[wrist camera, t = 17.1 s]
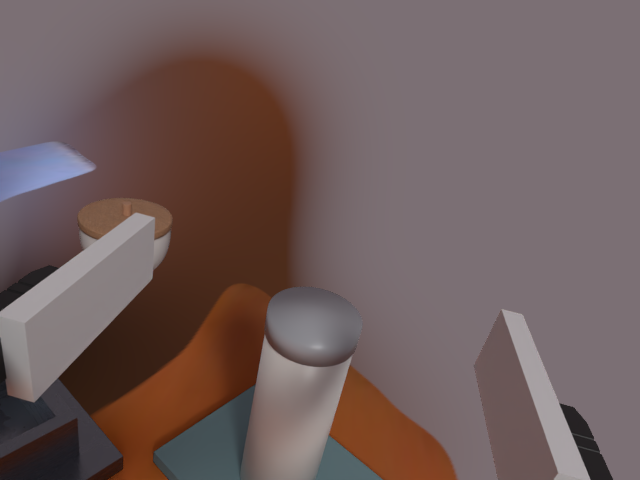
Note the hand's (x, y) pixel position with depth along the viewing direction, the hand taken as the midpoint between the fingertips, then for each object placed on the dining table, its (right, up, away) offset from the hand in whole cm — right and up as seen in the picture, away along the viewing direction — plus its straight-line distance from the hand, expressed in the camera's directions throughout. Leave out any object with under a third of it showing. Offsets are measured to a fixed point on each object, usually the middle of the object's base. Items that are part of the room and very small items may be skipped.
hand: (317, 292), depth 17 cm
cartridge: (-3, -17, +20) cm, 26 cm away
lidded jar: (-25, -2, +42) cm, 49 cm away
